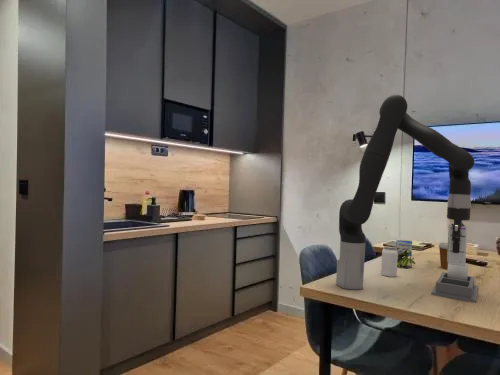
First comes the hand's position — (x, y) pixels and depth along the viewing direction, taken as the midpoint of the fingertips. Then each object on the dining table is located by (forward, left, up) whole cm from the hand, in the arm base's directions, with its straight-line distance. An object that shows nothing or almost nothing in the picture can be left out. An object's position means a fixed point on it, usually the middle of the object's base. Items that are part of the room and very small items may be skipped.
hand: (456, 251), depth 141 cm
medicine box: (+32, +72, -16) cm, 81 cm away
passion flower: (+12, +45, -16) cm, 50 cm away
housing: (+4, +3, -16) cm, 17 cm away
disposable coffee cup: (+33, +39, -16) cm, 54 cm away
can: (-8, +28, -16) cm, 34 cm away
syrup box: (0, 0, -5) cm, 5 cm away
